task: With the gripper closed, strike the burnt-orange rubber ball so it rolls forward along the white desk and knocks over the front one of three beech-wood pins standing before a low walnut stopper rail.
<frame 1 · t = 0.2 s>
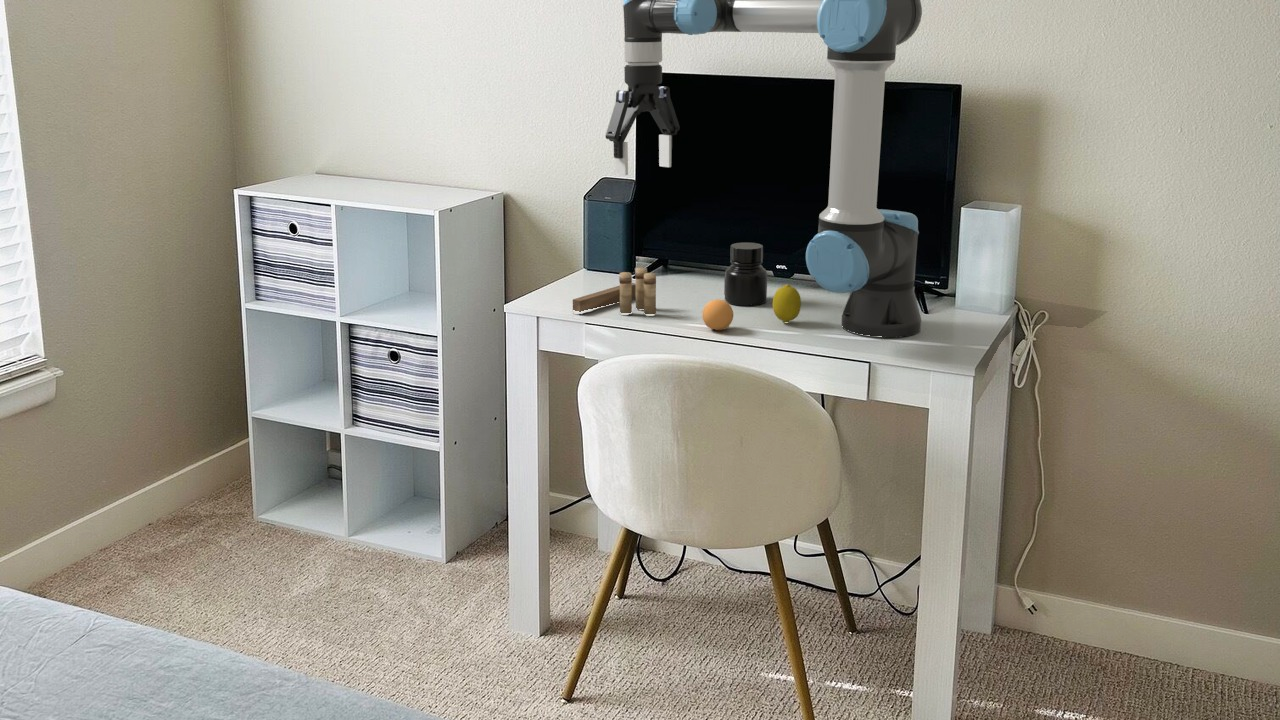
hand: (643, 170, 239), 28 cm above the table, tool pointing down, fingers open, 13 cm apart
stopper rail: (605, 305, 244), on the table
ink bottle: (745, 302, 247), on the table
pin 2: (641, 309, 242), on the table
ball: (717, 314, 226), on the table
pin front: (649, 315, 237), on the table
lemon: (786, 324, 231), on the table
pin 1: (625, 314, 238), on the table
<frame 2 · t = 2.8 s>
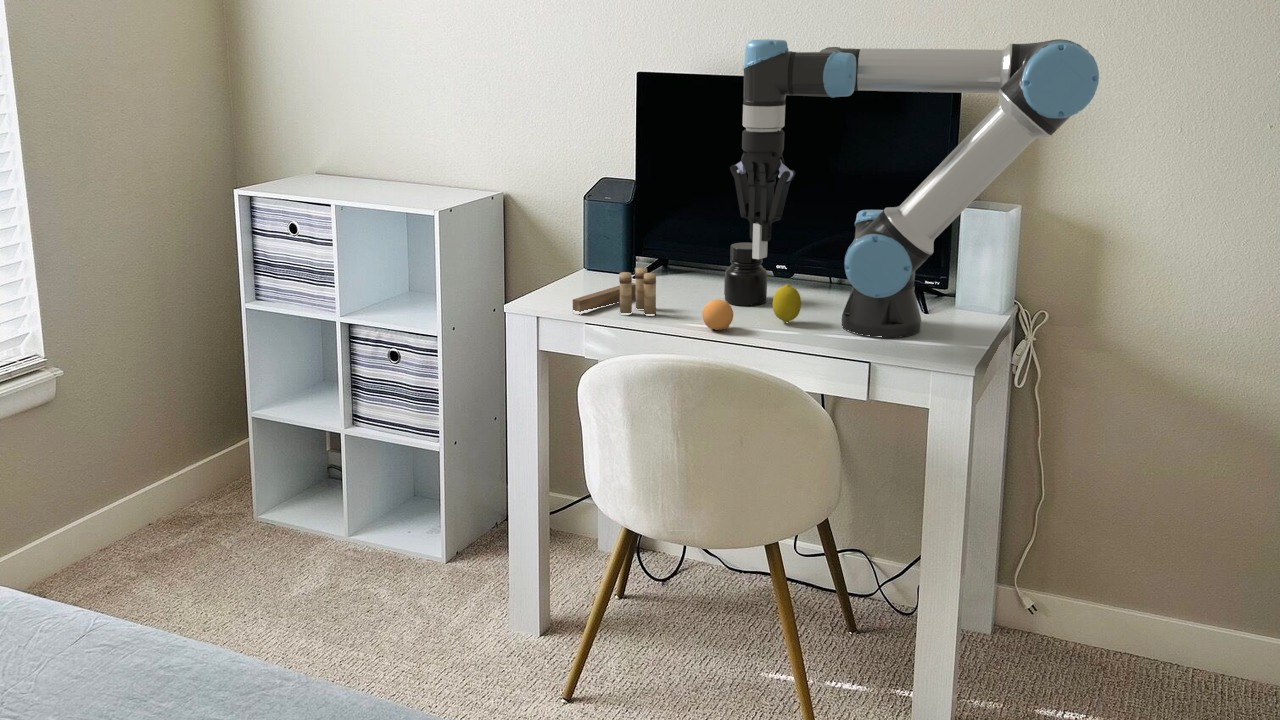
hand: (759, 257, 216), 16 cm above the table, tool pointing down, fingers closed
nothing on the table moved.
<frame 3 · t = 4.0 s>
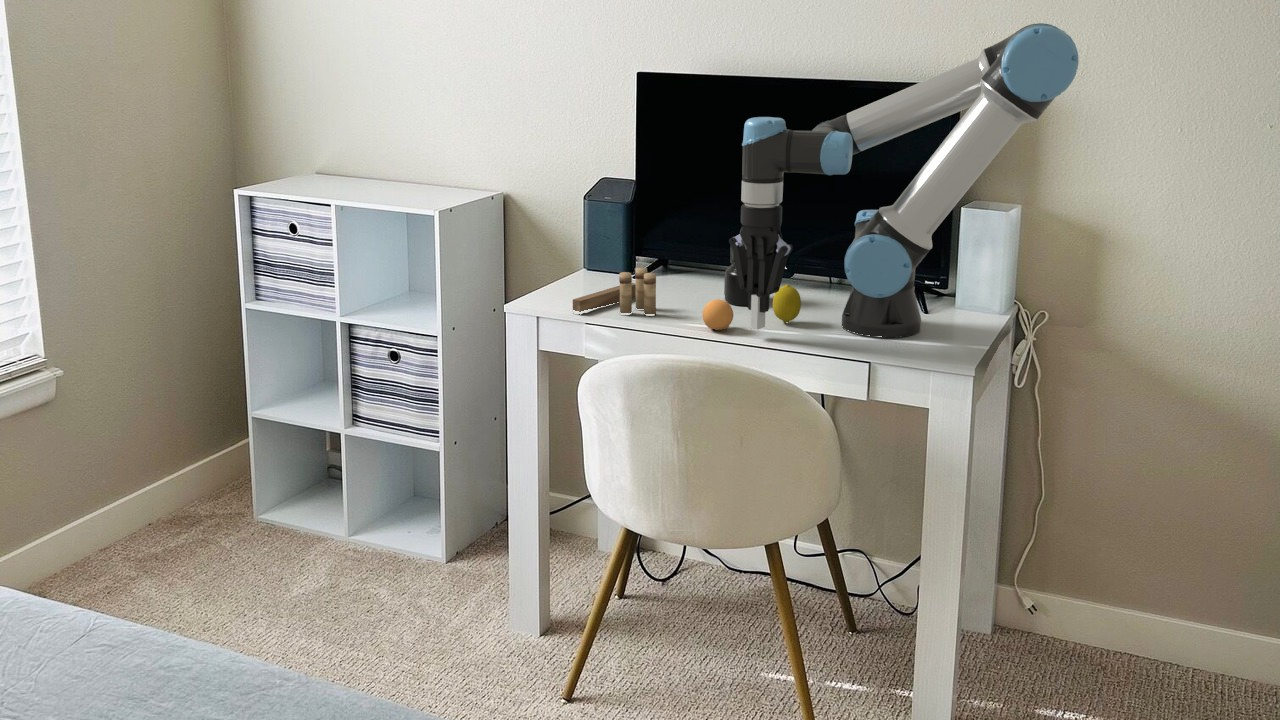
hand: (757, 327, 220), 2 cm above the table, tool pointing down, fingers closed
nothing on the table moved.
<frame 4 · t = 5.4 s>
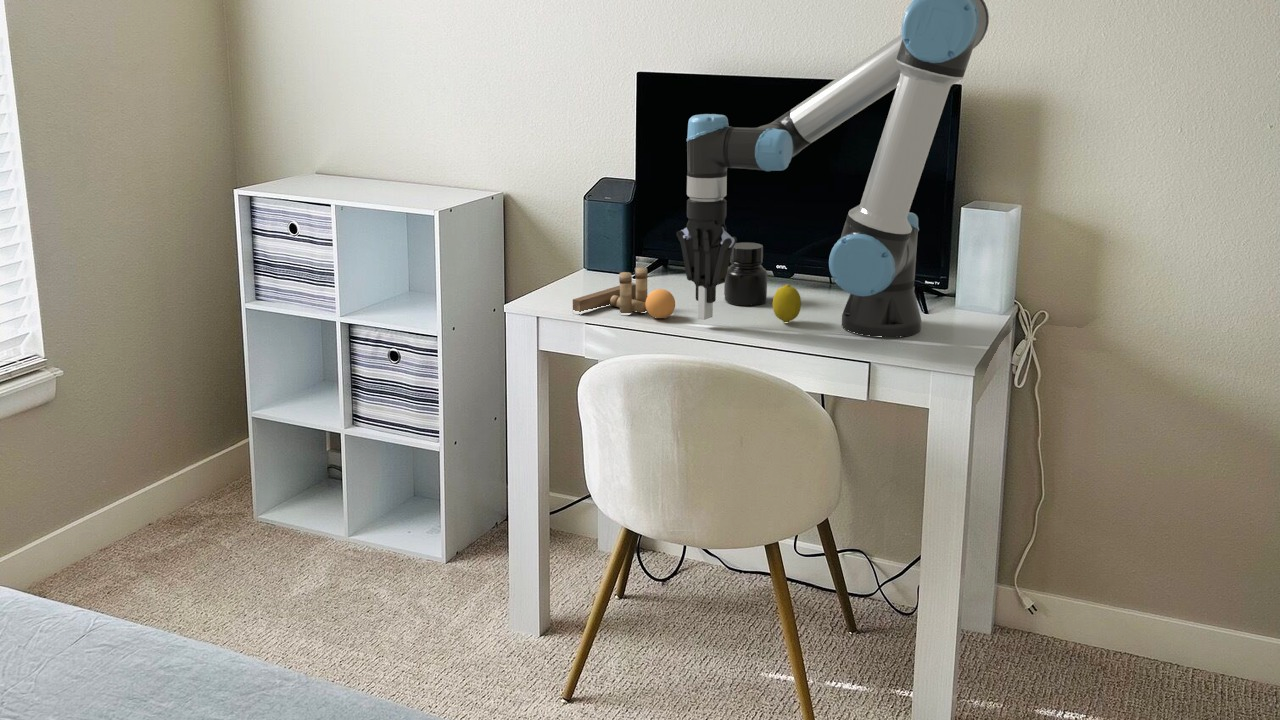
hand: (705, 317, 228), 2 cm above the table, tool pointing down, fingers closed
ball: (660, 303, 234), on the table
pin front: (644, 308, 238), point 1 cm above the table, tilted 89°
everything else where it was.
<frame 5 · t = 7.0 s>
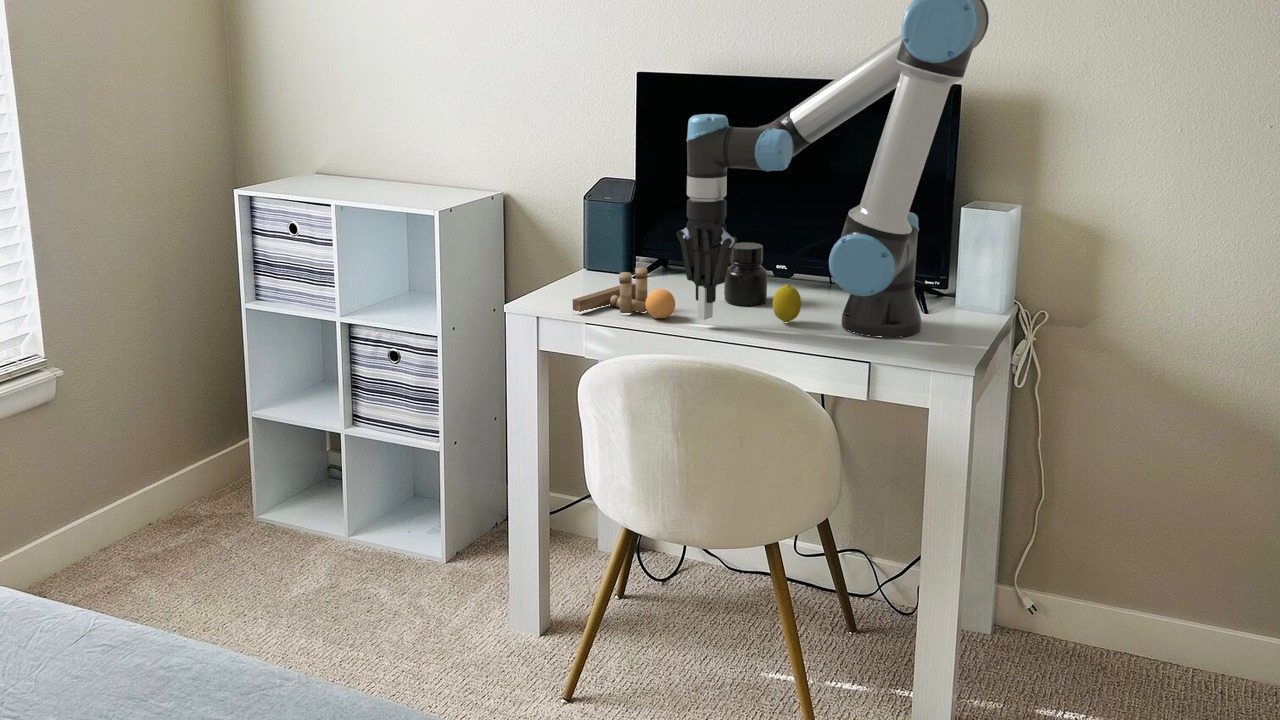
hand: (705, 317, 228), 2 cm above the table, tool pointing down, fingers closed
nothing on the table moved.
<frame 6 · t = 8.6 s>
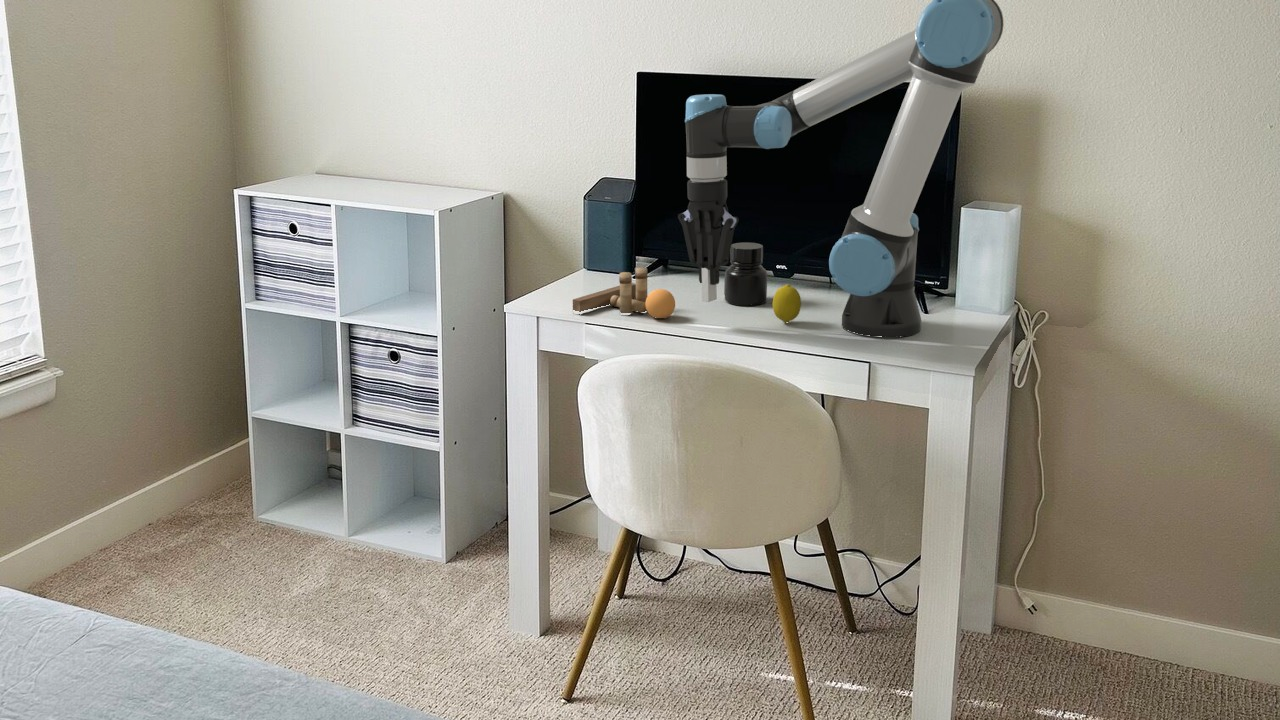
hand: (709, 300, 227), 6 cm above the table, tool pointing down, fingers closed
nothing on the table moved.
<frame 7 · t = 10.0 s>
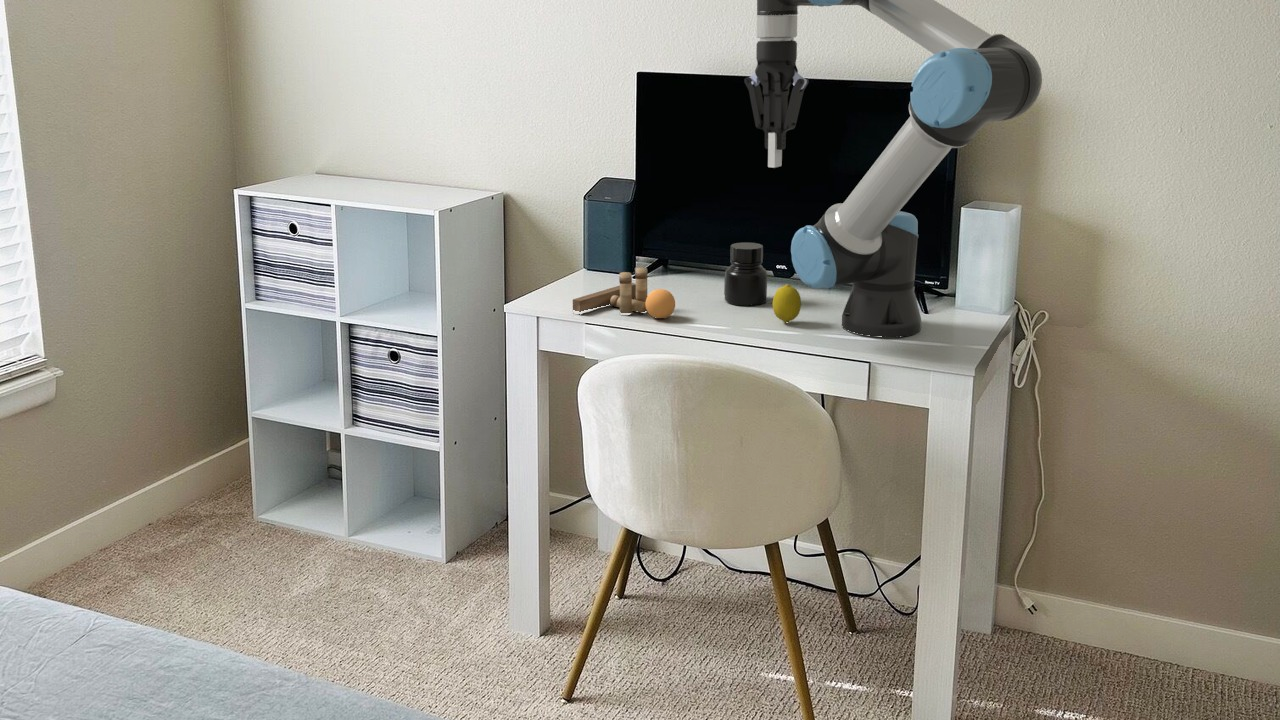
hand: (774, 166, 224), 31 cm above the table, tool pointing down, fingers closed
nothing on the table moved.
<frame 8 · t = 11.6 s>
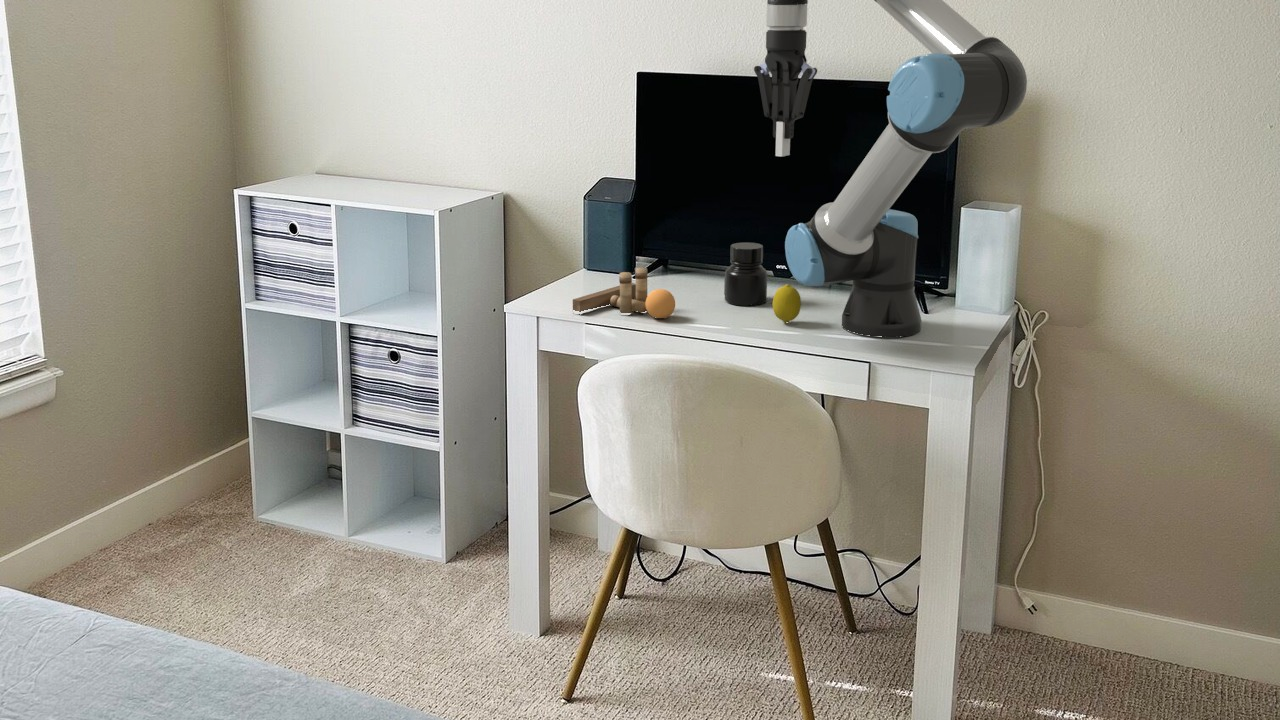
hand: (782, 155, 225), 32 cm above the table, tool pointing down, fingers closed
nothing on the table moved.
at the end: pin front tilted 90°; pin front never touched the robot; ball moved 13.8 cm from its start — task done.
